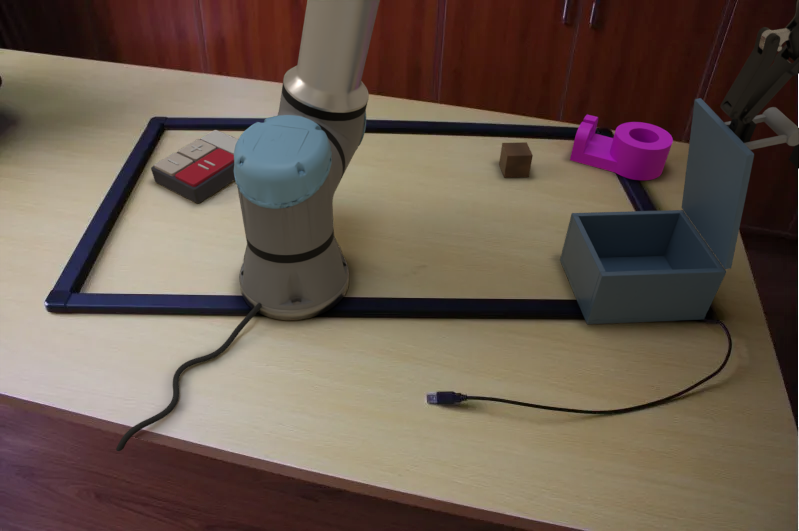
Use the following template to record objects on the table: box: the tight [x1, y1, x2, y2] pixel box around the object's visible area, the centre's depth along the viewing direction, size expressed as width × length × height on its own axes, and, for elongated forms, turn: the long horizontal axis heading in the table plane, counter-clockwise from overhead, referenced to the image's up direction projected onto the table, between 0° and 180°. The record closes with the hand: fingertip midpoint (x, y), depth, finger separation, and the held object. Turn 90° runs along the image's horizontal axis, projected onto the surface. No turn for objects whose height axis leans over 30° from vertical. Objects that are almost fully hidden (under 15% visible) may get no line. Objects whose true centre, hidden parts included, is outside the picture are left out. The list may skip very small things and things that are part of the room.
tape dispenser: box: [569, 114, 674, 181], centre depth 118 cm, size 16×10×6 cm, turn 63°
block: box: [498, 141, 534, 179], centre depth 115 cm, size 4×4×4 cm
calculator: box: [150, 129, 239, 204], centre depth 111 cm, size 11×4×15 cm
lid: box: [681, 97, 799, 270], centre depth 82 cm, size 17×14×9 cm
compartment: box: [559, 209, 727, 325], centre depth 90 cm, size 17×14×9 cm
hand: (762, 165), depth 81 cm, fingers open, 8 cm apart
